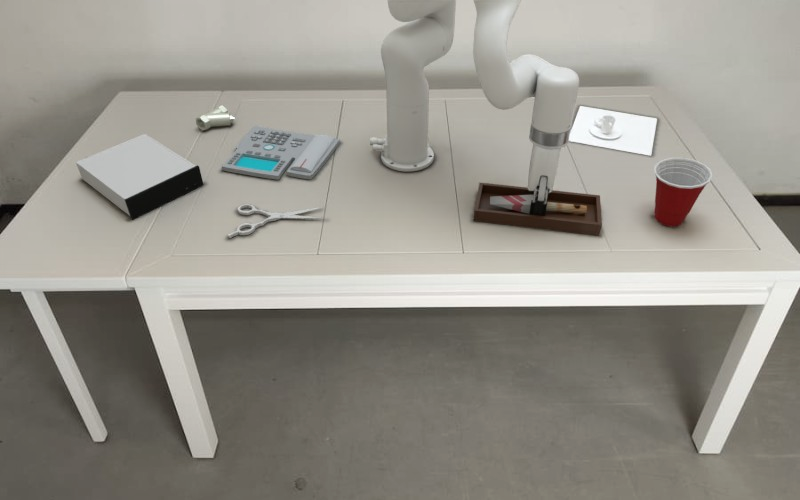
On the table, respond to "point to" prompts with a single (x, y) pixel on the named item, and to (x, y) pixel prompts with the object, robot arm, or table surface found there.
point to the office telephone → (280, 153)
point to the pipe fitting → (215, 118)
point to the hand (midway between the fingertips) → (537, 208)
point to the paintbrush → (524, 203)
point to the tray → (550, 221)
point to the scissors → (271, 217)
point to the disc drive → (140, 175)
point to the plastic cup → (678, 188)
